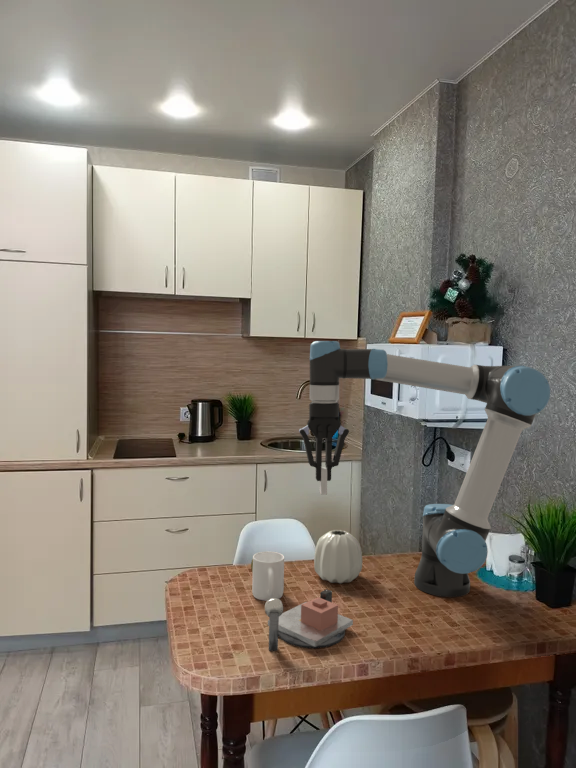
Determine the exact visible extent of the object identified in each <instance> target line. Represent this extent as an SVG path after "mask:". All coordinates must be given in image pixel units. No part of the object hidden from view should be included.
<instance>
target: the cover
mask: <svg viewBox="0 0 576 768" xmlns="http://www.w3.org/2000/svg"><path fill="white" fill-rule="evenodd" d="M305 602H306V603H305ZM305 602H303V603H304V604H302V603H301V604H302V605H301V622H303V623H305V624H307V625H309V626H311V627H314V628H316V629H318V630H320V631H321V630H323V629H325V628H327V627H329V626H331V625H333V624H335V623H337V622H338V614H339V605H338V604H336V603H333V601H332V602H329V601H327V600H324V599H322V598H320V597H319V596H318V597H316V598H312V599H310V600H309V601H305Z"/></svg>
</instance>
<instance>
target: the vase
mask: <svg viewBox="0 0 576 768" xmlns="http://www.w3.org/2000/svg"><path fill="white" fill-rule="evenodd" d="M315 545H316V546H315V550H314V555H313V557H314V558H313V559H314V560H313V562H314V567H313V568H314V572H315V573H316V574H317V575H318V577H319V578H320V579H321V580H323V581H328V582H329V583H332V584H333V583H337V584H343V583H351V582H352V581H354V580H355V579H356V578H357V577H358V576H359V574H360V573H361V572H362V569H363V554H362V548H361V544H360V542H359V541H358V540H357V538H356V537H354V535H352V534H351V533H350V532H348V531H346V530H342V529H333V530H330V531H328V532H326V533H324V534H323V535H322V536H320V537H319V539H318V540H317V542H316V544H315Z"/></svg>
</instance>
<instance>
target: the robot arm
mask: <svg viewBox="0 0 576 768" xmlns="http://www.w3.org/2000/svg"><path fill="white" fill-rule="evenodd" d="M309 347H310V348H309V401H311V402H309V408H308V409H309V410H308V411H309V412H308V413H309V415H308V416H309V417H308V421H307V423H306V424H307V425H306V426H304V427H302V428H301V427H300V428H299V429H298V433H299V434H300V436H301V437H302V440H303V443H304V449H305V453H306V458H307V461H308V465H310V467H313V468H315V480H316V481H317V482H319V493H320V495H322V496H323V495H324V496H326V495H328V482H330V481H332V468H334V467H338V466H339V463H340V459H341V456H342V452H343V448H344V445H345V440H346V438H347V436H348V435H349V434H350V430H349V429H348V428H346V427H344V426H343V425H342V424H341V422H340V416H339V415H340V411H339V410H340V407H339V406H340V404H339V402H338V401H339V400H340V379H344V380H345V379H353V380H354V379H356V380H357V379H358V380H361V379H364V380H367V379H369V380H375V381H382V382H386V383H387V382H389V383H395V384H399V385H406V386H413V387H418V388H423V389H424V388H425V389H430V390H436V391H441V392H448V393H453V394H459V395H465V396H466V398H467V399H469V400H473V401H479V402H483V403H485V404H486V405H485V407H484V411H485V413H486V415H487V419H486V422H485V425H484V428H483V430H482V432H481V435H480V437H479V440H478V442H477V445H476V448H475V450H474V453H473V455H472V458H471V461H470V463H469V466H468V467H467V468H468V469H467V470H466V474H465V476H464V479H463V481H462V483H461V486H460V489H459V491H458V494H457V497H456V499H455V501H454V504H450V503H449V504H448V503H429V504H426V505H425V506H424V507H423V514H422V535H421V536H422V539H421V541H422V542H421V557H420V561H419V563H418V564H417V568H416V571H415V573H414V578H413V580H414V582H413V584H414V585H415V587H416V588H417V589H418V590H420V591H421V592H424V593H426V594H429V595H433V596H436V597H443V598H459V597H464V596H467V595H468V594H469V593H470V591H471V579H470V576H469V574H470V573H473V572H476V571H477V570H479V569H481V568H482V566H483V565H484V564H485V562H486V560H487V558H488V553H489V551H488V545H487V542H486V541H487V538H488V535H489V533H490V531H491V528H492V527H491V524H490V522H489V520H488V518H489V515H490V512H491V510H492V507H493V505H494V502H495V501H496V497H497V495H498V492H499V489H500V487H501V485H502V482H503V480H504V477H505V475H506V472H507V469H508V467H509V464H510V462H511V459H512V456H513V455H514V452H515V449H516V446H517V444H518V442H519V440H520V437H521V434H522V431H524V430H525V429H527V428H530V427H532V424H533V422H534V419H535V417H536V415H537V414H538V413H541V411H543V410H544V409H545V408H546V407H547V405H548V404H549V401H550V398H551V387H550V383H549V381H548V379H547V378H546V376H545V375H544V374H543V372H541V371H540V370H537V369H536V368H533V367H530V366H526V365H480V364H473V365H471V366H470V367H469V366H465V365H464V366H463V365H458V364H451V363H450V364H449V363H444V362H438V361H433V360H426V359H421V358H420V359H419V358H415V357H414V358H413V357H407V356H402V355H401V356H400V355H395V354H389V353H387V351H386V350H384V349H378V348H357V349H356V348H349V349H346V348H341V346H340V342H339V341H336V340H332V341H331V340H315V341H314V340H313V342H312V343H310V346H309ZM309 430H310V432H311V433H312V435H313V436H314V437H315V459H314V457H313V456H314V454H313V452H312V447H311V442H310V438H309V435H310V432H309ZM336 433H338V437H337V440H336V441H337V442H336V446H335V448H334V449H335V450H334V454H333V453H332V452H333V447H332V446H333V438H334V436H335V434H336ZM323 439H324V440H325V462H324V463H325V466H322V465H323V464H322V461H323V456H322V455H323V454H322V453H323V450H322V449H323ZM332 455H333V456H332ZM332 458H333V459H332Z"/></svg>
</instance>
